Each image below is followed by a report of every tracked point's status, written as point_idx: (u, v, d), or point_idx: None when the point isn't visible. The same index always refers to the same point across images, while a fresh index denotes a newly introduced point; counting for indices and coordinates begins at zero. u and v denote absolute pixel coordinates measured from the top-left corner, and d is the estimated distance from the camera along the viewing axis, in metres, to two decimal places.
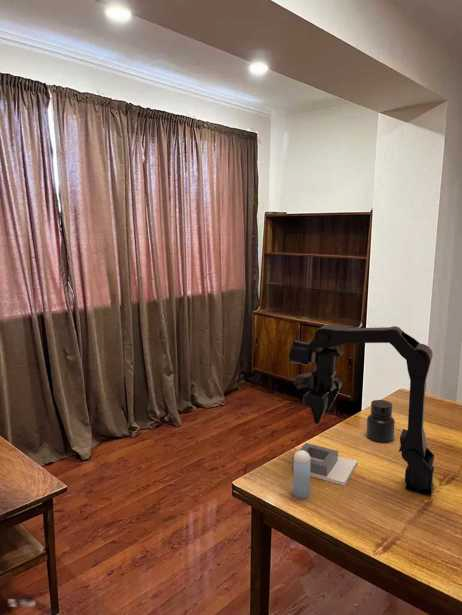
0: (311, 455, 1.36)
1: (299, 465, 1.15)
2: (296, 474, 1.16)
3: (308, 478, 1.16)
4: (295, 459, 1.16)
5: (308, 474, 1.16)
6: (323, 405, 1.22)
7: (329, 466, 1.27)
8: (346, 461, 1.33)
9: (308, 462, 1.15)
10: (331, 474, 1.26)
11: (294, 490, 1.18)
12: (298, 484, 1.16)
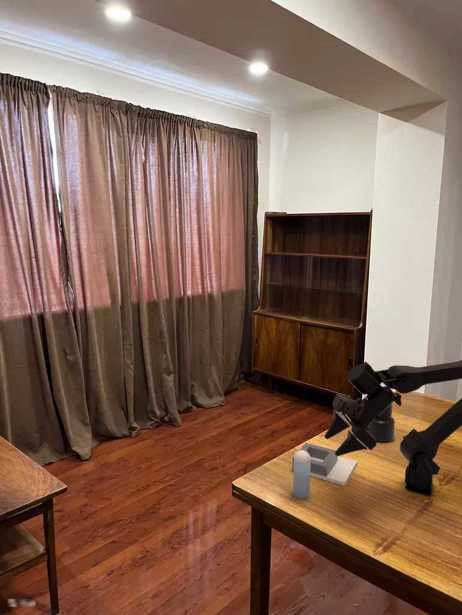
0: (311, 455, 1.36)
1: (299, 465, 1.15)
2: (296, 474, 1.16)
3: (308, 478, 1.16)
4: (295, 459, 1.16)
5: (308, 474, 1.16)
6: (372, 448, 1.08)
7: (329, 466, 1.27)
8: (346, 461, 1.33)
9: (308, 462, 1.15)
10: (331, 474, 1.26)
11: (294, 490, 1.18)
12: (298, 484, 1.16)
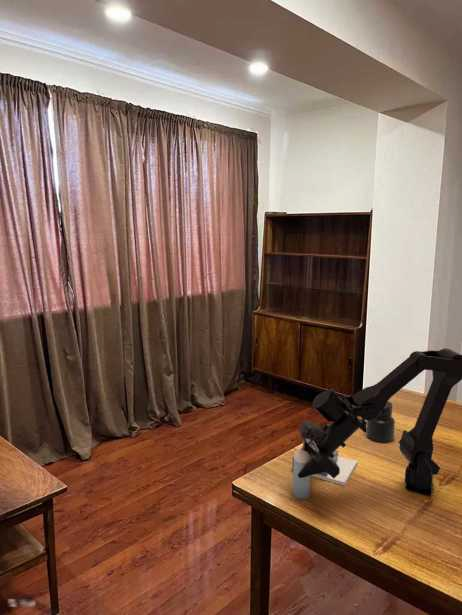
0: None
1: (299, 465, 1.15)
2: (296, 474, 1.16)
3: (308, 478, 1.16)
4: (295, 459, 1.16)
5: None
6: (335, 476, 1.09)
7: None
8: (346, 461, 1.33)
9: None
10: None
11: (294, 490, 1.18)
12: (298, 484, 1.16)
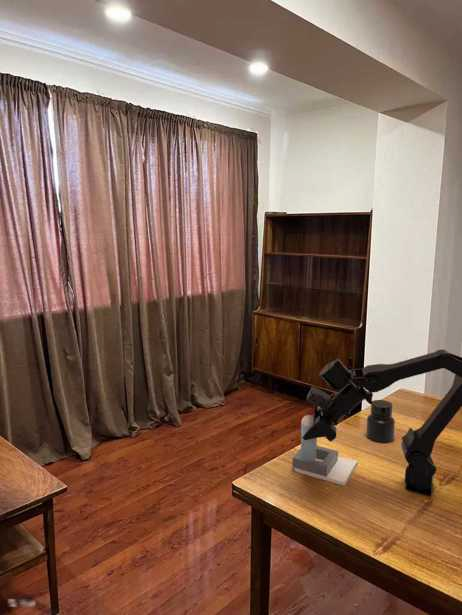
0: None
1: (304, 428, 1.23)
2: (302, 436, 1.24)
3: (313, 442, 1.24)
4: (301, 422, 1.24)
5: None
6: (332, 440, 1.15)
7: (329, 466, 1.27)
8: (346, 461, 1.33)
9: None
10: (331, 474, 1.26)
11: (301, 452, 1.26)
12: (303, 446, 1.25)
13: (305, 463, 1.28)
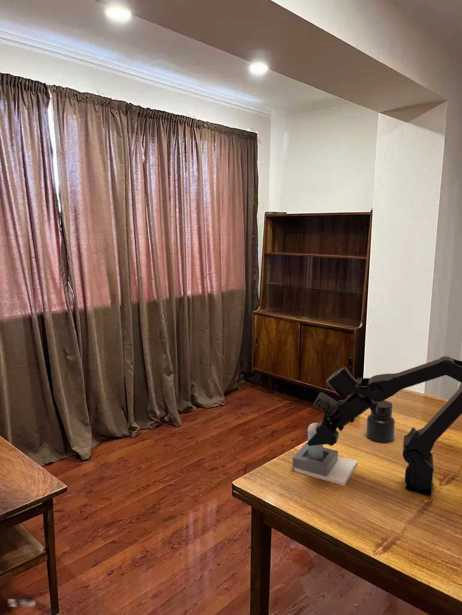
0: None
1: (310, 435, 1.29)
2: None
3: (319, 448, 1.29)
4: (308, 429, 1.31)
5: (318, 445, 1.29)
6: (332, 444, 1.20)
7: (329, 466, 1.27)
8: (346, 461, 1.33)
9: None
10: (331, 474, 1.26)
11: None
12: (309, 452, 1.30)
13: (305, 463, 1.28)
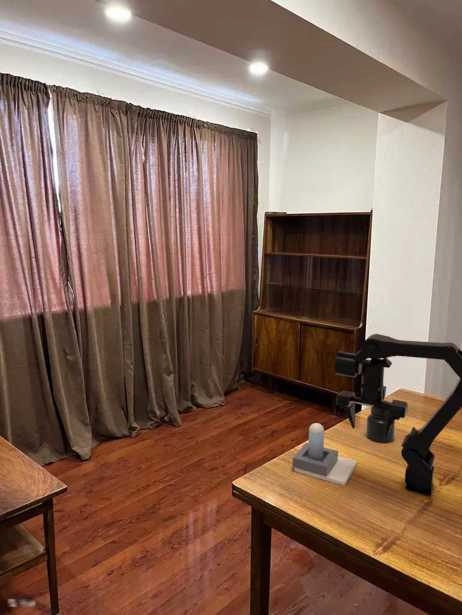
0: None
1: (311, 435, 1.29)
2: (309, 442, 1.31)
3: (319, 449, 1.29)
4: (309, 429, 1.31)
5: (319, 445, 1.29)
6: (337, 403, 1.27)
7: (329, 466, 1.27)
8: (346, 461, 1.33)
9: (319, 434, 1.28)
10: (331, 474, 1.26)
11: (308, 457, 1.32)
12: (309, 452, 1.30)
13: (305, 463, 1.28)
